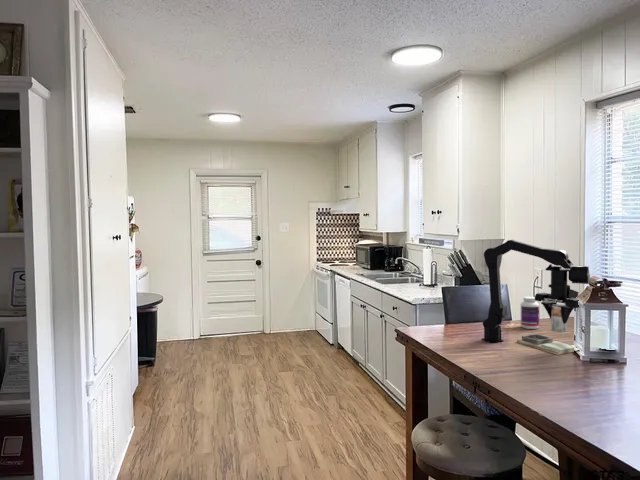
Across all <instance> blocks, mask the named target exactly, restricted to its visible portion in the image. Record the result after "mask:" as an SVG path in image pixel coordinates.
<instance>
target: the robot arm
mask: <svg viewBox="0 0 640 480" xmlns="http://www.w3.org/2000/svg"><path fill="white" fill-rule="evenodd" d="M511 251H515V252H519V253H522V254H524V255H525V254H526V255H529V256H532V257H537V258H540V259H542V260H544V261H546V262H547V263H550V264H549V265H548V266H547V267H545V269H544V271H550V284H548V288H550V293H548V292H541V293H540V292H539V293H535V295H534V297H535V301H536V302H540V304H541V305H543V307H544V309H545V310H546V312H547V314H548V317H549V318H550V320H551V307H552V304H557V303H559V304H560V303H561V304H564V305H565V306H561V312H562V319H563V323H566V324H567V322H568V319H569V317H570V315H571V314H572V311H573V310H574V309H576V308H580V307H579V305H578V301H579V300H578V299H579V298H578V297H579V291H576V290H575V289H571V286H570V284H568V281H570V282H571V283H572V284H582V285H590V282H589V281H590V280H591V274H590V267H589V265H583V266H582V265H581V266H579V265H574V264H573V263H572V261H571V260H570V259H569V254H568V252H567V251H566V250H563V249H556V248H554V249H553V248H552V249H551V248H545V247H544V248H543V247H539V246H536V245H532V244H528V243H525V242H522V241H517V240H515V239H508V240H507V241H505V242H504V243H501V244H499V245H498V246H495V247H494V246H493V247H490V248H489V247H488V248H486V250H485V251H484V253H483V259H484V262H485V264H486V267H487V269H488V279H489V295H490V298H489V299H490V305H489V309H488V313H487V318H486V319H485V320H484V321H482V326H483V330H484V331H483V337H482V338H481V340H482V341H485V342H488V343H491V344H493V343H494V344H495V343H501V342H504V339H502V327H501V325H502V323H503V322H504V321H505V320H506V319H507V316H508V315H509V314H508V311H507V310H508V305H504V304H503V301H502V300H503V299H502V288H501V287H502V286H501V285H502V284H501V273H500V270H501V269H500V268H501V265H502V260H503V259H502V258H503V255H505V254H507V253H509V252H511ZM577 296H578V297H577ZM576 297H577V298H578V299H577V298H576Z"/></svg>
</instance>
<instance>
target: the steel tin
mask: <svg viewBox="0 0 640 480" xmlns="http://www.w3.org/2000/svg"><path fill="white" fill-rule="evenodd" d="M561 306H565V304H562V303H561V304H560V303H559V304H552V307H551V319H550V320H551V323H550V324H551V327H550V328H551V330H550V331H552V332H555V333H566V332H567V322H566V323H563V319H562V312H561Z"/></svg>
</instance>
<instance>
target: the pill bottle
mask: <svg viewBox="0 0 640 480" xmlns="http://www.w3.org/2000/svg"><path fill="white" fill-rule="evenodd" d="M520 326H521V328H523V329H526V330H537V329H539V328H540V303H538V301H535V296H523V298H522V302H521V303H520Z"/></svg>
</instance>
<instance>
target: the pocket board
mask: <svg viewBox="0 0 640 480" xmlns="http://www.w3.org/2000/svg"><path fill="white" fill-rule="evenodd" d="M553 339H554V338H553V337H548V336H546V335H542V334H539V333H534V334H533V333H532V334H527V335H522V336H521V339H517V340H516V343H518V344H521V345H524V346H527V347H531V348H535V349H537V350H540V351H544V352H547V353H551V354H554V355H557V356H559V355H563V354H569V353H575V352H574V347H573V346H574V345H571V344H567V343H564V342H560V341H555V340H553Z"/></svg>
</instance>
